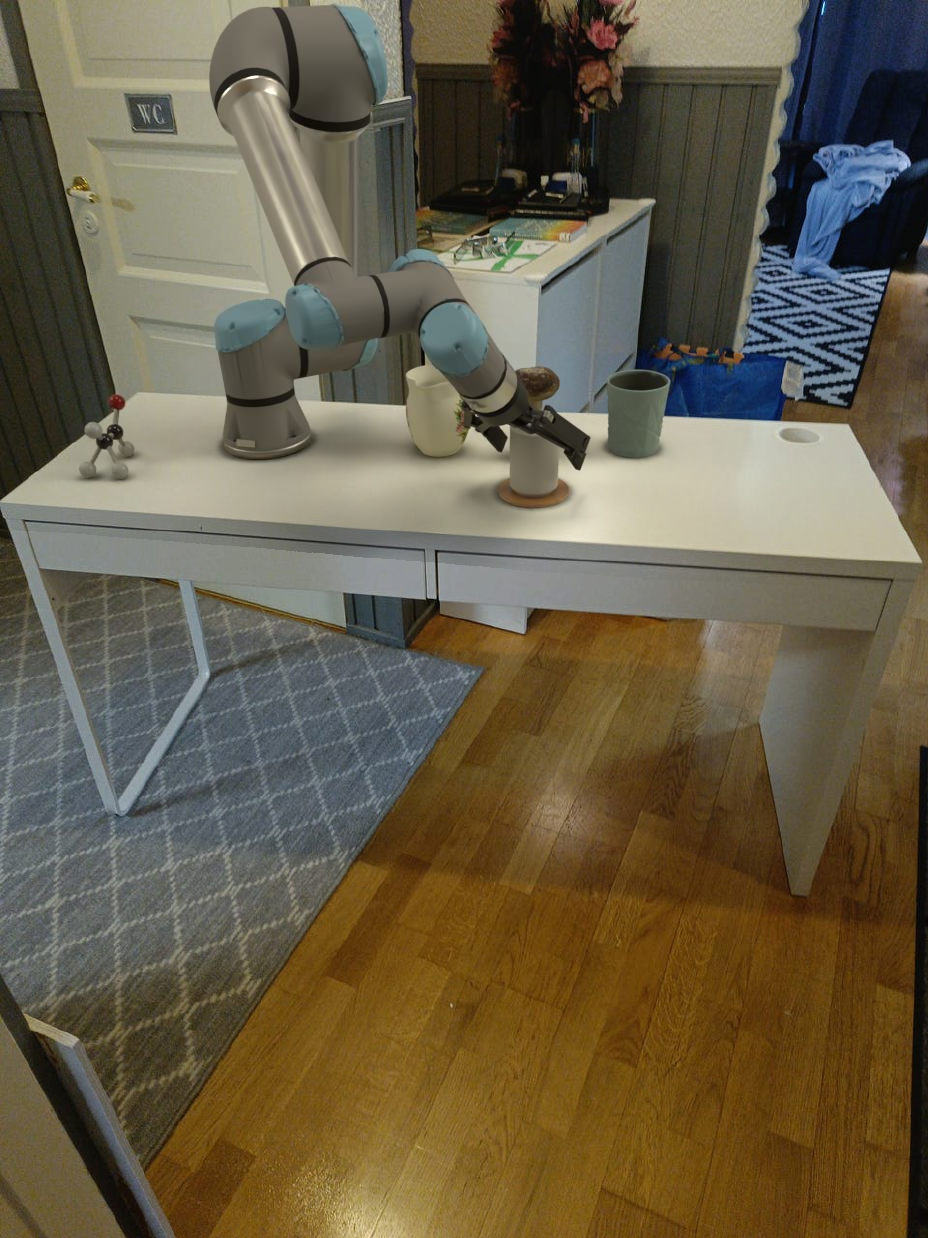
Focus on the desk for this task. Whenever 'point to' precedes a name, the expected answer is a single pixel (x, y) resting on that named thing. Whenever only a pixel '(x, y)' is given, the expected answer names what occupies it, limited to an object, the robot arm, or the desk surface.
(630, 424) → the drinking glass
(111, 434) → the molecular model
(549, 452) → the can
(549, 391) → the mushroom
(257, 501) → the desk surface
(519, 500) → the coaster
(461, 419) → the pitcher
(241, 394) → the robot arm
